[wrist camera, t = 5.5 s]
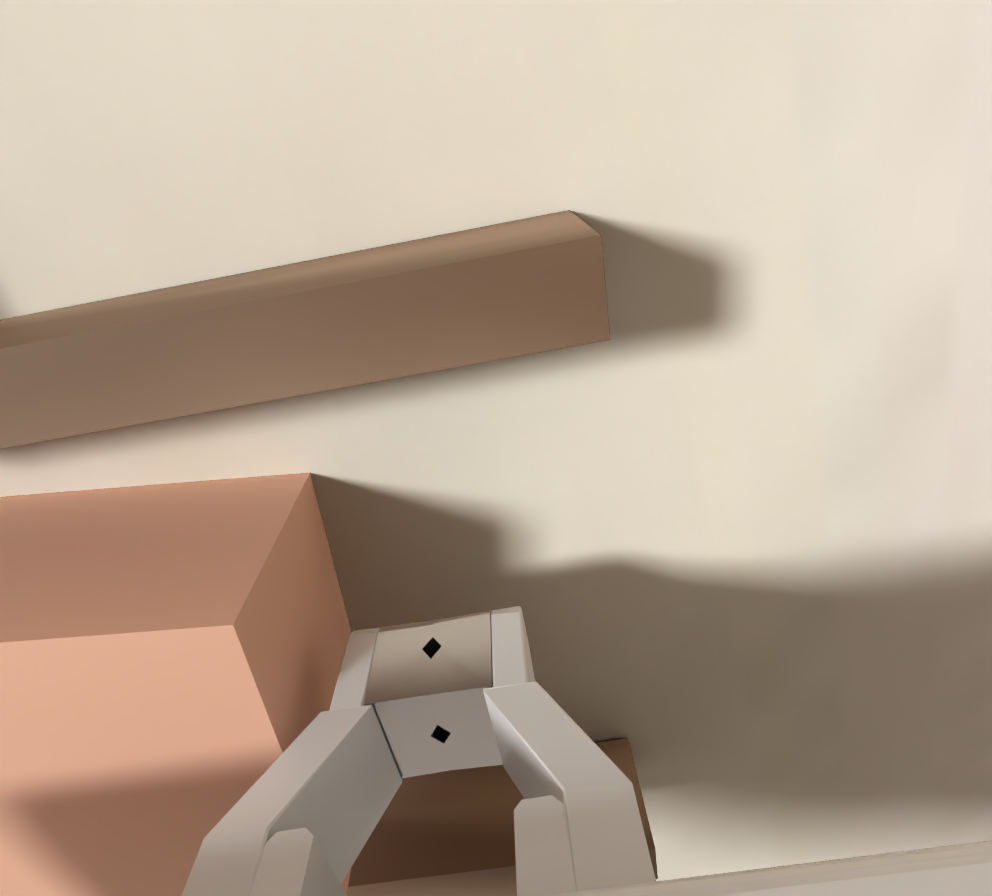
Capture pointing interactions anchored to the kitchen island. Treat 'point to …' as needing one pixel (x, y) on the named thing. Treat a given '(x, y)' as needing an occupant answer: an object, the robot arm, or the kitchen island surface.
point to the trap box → (320, 367)
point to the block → (153, 671)
